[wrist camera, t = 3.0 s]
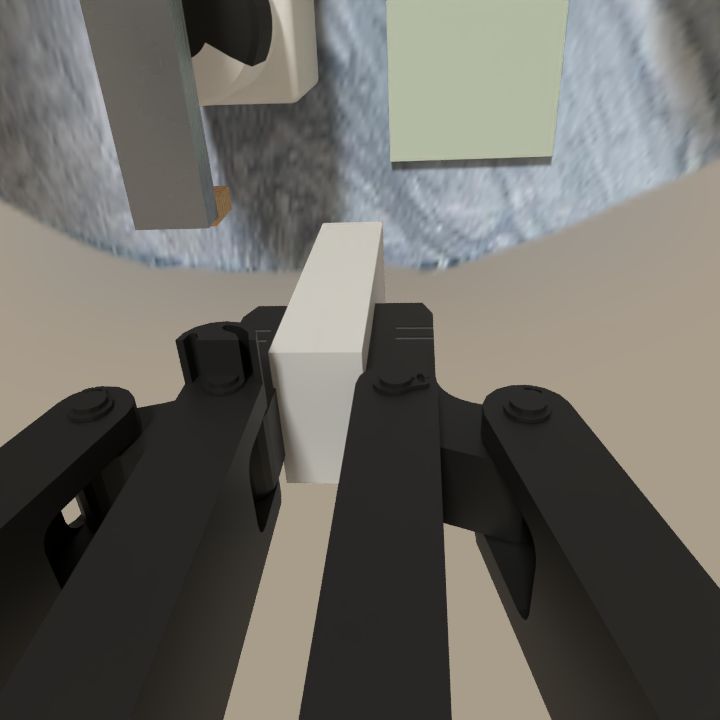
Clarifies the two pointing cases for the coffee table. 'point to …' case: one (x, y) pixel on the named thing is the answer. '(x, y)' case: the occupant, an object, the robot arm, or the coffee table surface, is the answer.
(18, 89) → the coffee table surface
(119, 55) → the grey l-shaped beam
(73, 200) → the coffee table surface
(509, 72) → the pad
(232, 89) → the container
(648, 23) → the coffee table surface
